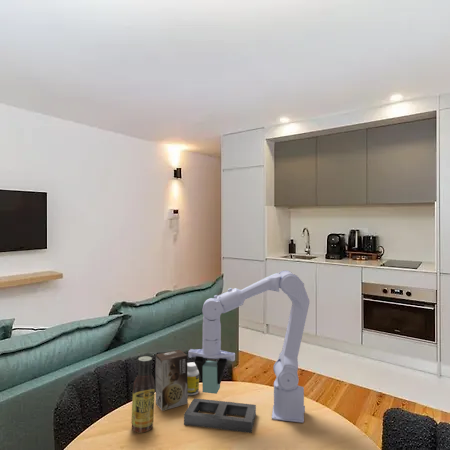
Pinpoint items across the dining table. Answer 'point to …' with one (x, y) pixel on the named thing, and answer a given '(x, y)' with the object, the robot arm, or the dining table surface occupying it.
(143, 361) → the sauce bottle
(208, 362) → the peg
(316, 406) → the dining table surface
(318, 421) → the dining table surface
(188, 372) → the supplement bottle
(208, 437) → the dining table surface
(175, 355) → the coffee box
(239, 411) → the grey peg holder tray
